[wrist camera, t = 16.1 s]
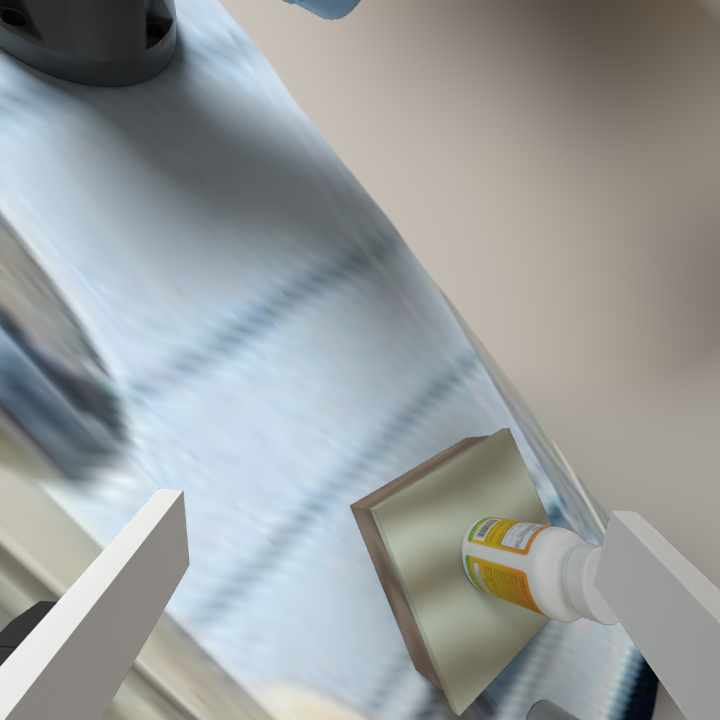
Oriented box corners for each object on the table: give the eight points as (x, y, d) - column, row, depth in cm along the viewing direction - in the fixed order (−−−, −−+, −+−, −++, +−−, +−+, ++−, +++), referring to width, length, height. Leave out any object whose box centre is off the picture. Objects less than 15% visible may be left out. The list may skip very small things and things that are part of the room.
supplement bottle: (509, 597, 31) (639, 647, 22) (454, 584, 29) (573, 633, 20) (515, 524, 32) (638, 544, 24) (464, 508, 31) (577, 524, 22)
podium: (344, 503, 32) (375, 509, 28) (467, 432, 40) (508, 427, 35) (414, 677, 31) (459, 716, 27) (526, 572, 39) (579, 588, 34)
